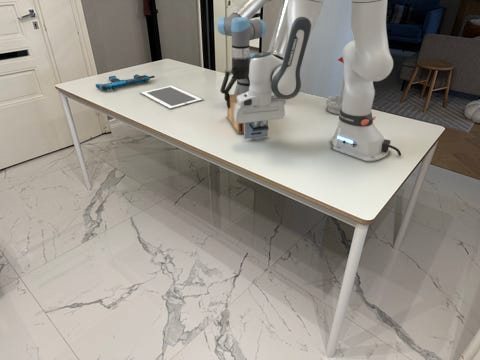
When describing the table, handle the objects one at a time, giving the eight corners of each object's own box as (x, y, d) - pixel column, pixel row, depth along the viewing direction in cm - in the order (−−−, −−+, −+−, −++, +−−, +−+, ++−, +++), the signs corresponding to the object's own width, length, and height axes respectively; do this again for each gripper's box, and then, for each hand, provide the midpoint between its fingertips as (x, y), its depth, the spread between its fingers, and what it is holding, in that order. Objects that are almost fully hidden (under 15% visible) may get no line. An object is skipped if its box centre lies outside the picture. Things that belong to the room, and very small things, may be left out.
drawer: (271, 142, 138) (273, 121, 134) (248, 145, 136) (249, 124, 131) (253, 119, 158) (254, 101, 153) (233, 122, 156) (233, 103, 151)
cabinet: (262, 131, 150) (263, 107, 144) (238, 134, 147) (238, 110, 141) (249, 114, 166) (249, 92, 160) (227, 117, 163) (226, 94, 157)
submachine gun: (140, 69, 224) (158, 75, 207) (141, 74, 225) (159, 81, 209) (88, 79, 205) (103, 86, 188) (89, 85, 207) (105, 93, 190)
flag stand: (341, 103, 177) (352, 43, 161) (357, 112, 167) (370, 48, 150) (320, 107, 173) (328, 45, 157) (335, 116, 163) (345, 51, 146)
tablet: (140, 93, 192) (140, 92, 192) (171, 85, 203) (171, 85, 203) (170, 109, 171) (170, 108, 171) (202, 99, 183) (202, 99, 182)
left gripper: (263, 53, 152) (261, 100, 163) (212, 57, 146) (214, 105, 158) (269, 57, 146) (267, 106, 157) (215, 61, 140) (217, 111, 152)
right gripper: (282, 92, 134) (280, 124, 142) (232, 96, 130) (233, 129, 137) (288, 97, 129) (286, 130, 136) (236, 102, 124) (237, 136, 132)
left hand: (240, 106), depth 158 cm, fingers closed on cabinet, 11 cm apart
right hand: (259, 130), depth 137 cm, fingers closed, pressing on drawer
